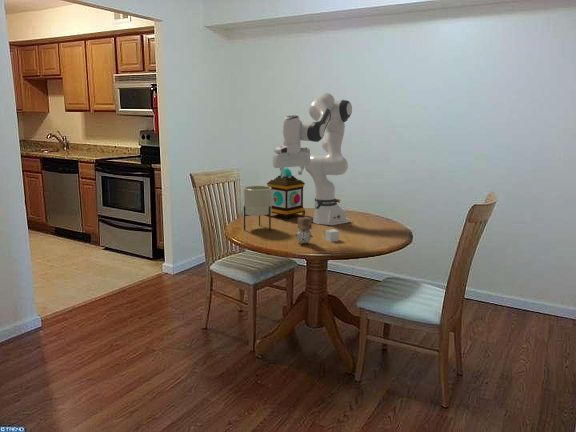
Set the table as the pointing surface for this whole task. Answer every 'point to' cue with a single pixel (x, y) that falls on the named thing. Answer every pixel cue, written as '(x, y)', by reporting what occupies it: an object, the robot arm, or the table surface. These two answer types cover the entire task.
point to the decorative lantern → (287, 194)
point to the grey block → (332, 235)
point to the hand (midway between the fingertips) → (292, 175)
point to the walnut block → (304, 223)
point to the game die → (304, 236)
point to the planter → (258, 202)
